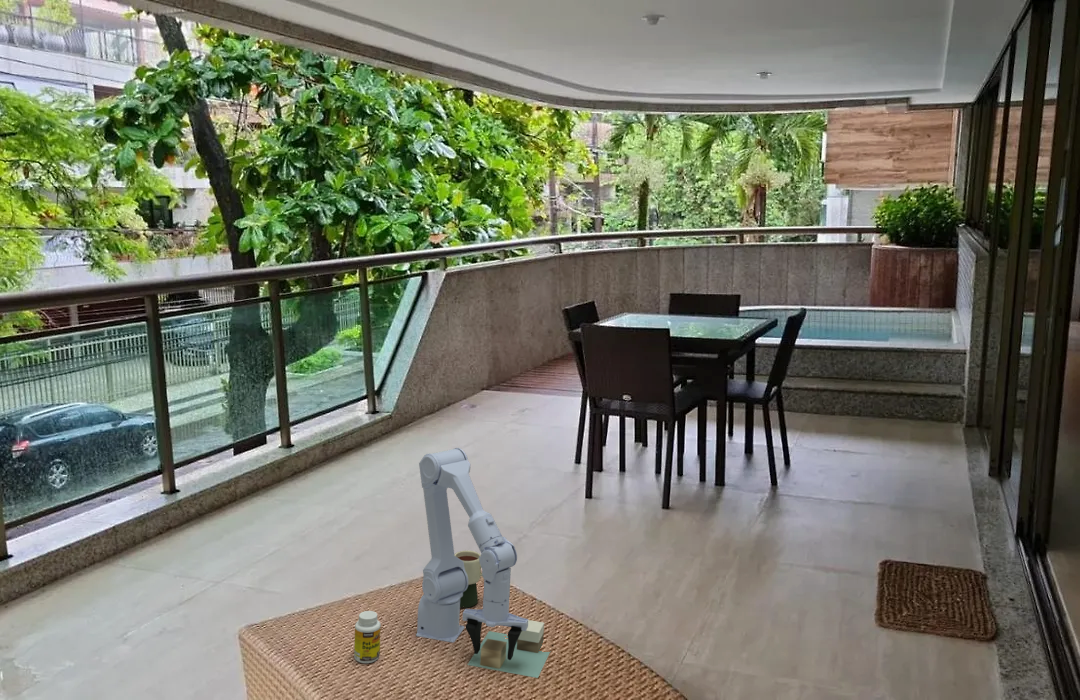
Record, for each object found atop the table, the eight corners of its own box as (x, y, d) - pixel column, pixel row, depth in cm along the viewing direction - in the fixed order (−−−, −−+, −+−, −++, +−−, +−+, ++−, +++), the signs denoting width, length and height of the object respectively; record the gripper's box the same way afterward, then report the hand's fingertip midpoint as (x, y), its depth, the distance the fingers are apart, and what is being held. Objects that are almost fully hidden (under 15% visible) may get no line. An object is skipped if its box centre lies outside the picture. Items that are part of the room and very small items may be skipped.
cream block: (517, 639, 193) (517, 629, 192) (522, 629, 197) (523, 619, 197) (538, 642, 191) (539, 632, 191) (543, 632, 196) (544, 622, 196)
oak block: (480, 665, 185) (481, 648, 185) (486, 655, 190) (487, 638, 189) (499, 668, 184) (500, 651, 184) (505, 658, 189) (506, 642, 188)
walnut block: (516, 649, 193) (517, 639, 193) (522, 639, 198) (522, 629, 197) (537, 653, 192) (538, 642, 191) (543, 642, 197) (543, 632, 196)
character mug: (489, 600, 217) (491, 552, 215) (483, 613, 210) (486, 563, 208) (448, 595, 219) (449, 548, 217) (441, 608, 212) (443, 559, 210)
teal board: (467, 666, 185) (467, 664, 185) (489, 632, 201) (489, 631, 201) (537, 679, 182) (537, 677, 182) (554, 644, 197) (554, 642, 197)
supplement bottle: (359, 667, 183) (360, 622, 181) (350, 655, 187) (351, 612, 186) (383, 660, 186) (385, 617, 184) (374, 649, 190) (375, 606, 189)
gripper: (458, 599, 182) (456, 657, 185) (523, 610, 179) (520, 669, 181) (469, 586, 189) (467, 642, 191) (531, 596, 186) (528, 653, 188)
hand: (493, 654), depth 187 cm, fingers open, 7 cm apart
